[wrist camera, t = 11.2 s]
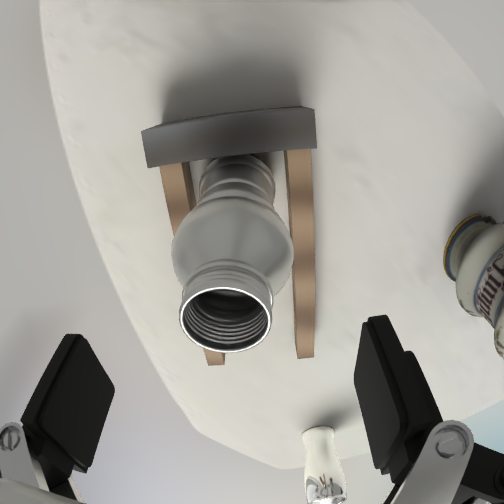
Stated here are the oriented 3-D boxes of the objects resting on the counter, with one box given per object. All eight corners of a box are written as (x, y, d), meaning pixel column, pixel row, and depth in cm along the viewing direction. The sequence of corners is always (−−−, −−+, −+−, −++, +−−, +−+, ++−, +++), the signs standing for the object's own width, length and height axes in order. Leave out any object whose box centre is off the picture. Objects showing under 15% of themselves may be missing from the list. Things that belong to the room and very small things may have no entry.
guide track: (161, 123, 27) (141, 131, 22) (301, 106, 27) (314, 109, 21) (210, 348, 40) (205, 383, 35) (310, 340, 40) (317, 375, 34)
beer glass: (341, 433, 52) (353, 500, 39) (309, 445, 54) (317, 510, 41) (327, 420, 49) (339, 494, 36) (292, 433, 51) (299, 504, 38)
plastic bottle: (203, 147, 28) (130, 246, 11) (276, 149, 29) (322, 254, 11) (203, 211, 31) (153, 368, 14) (271, 213, 32) (297, 375, 14)
